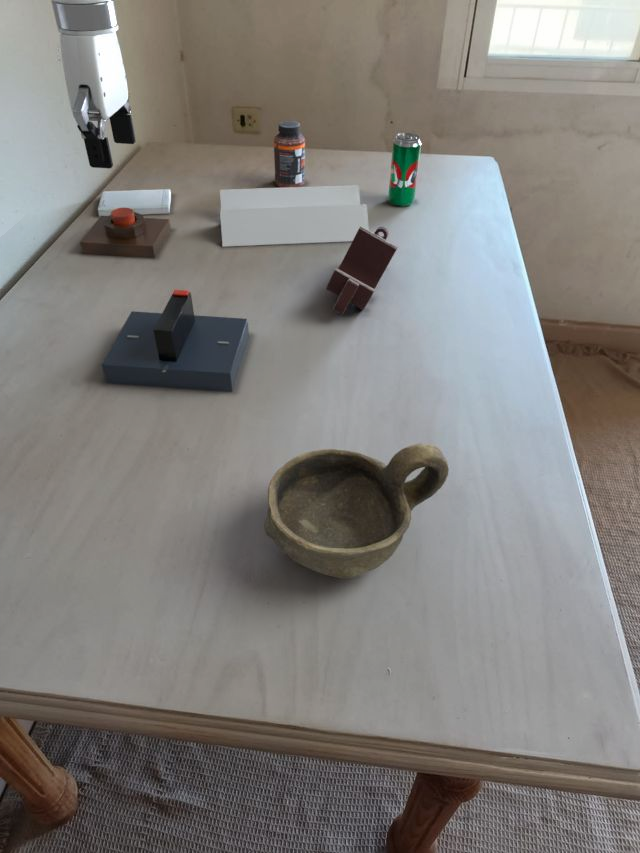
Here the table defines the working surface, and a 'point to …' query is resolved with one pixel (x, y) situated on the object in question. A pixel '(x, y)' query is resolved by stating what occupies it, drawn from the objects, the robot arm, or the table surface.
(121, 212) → the button
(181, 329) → the black rectangular block
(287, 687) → the table surface
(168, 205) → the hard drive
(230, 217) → the z bracket
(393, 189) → the soda can
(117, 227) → the button base
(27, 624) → the table surface
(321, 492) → the bowl
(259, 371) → the table surface
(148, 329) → the lever switch
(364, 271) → the bracket
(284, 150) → the supplement bottle
